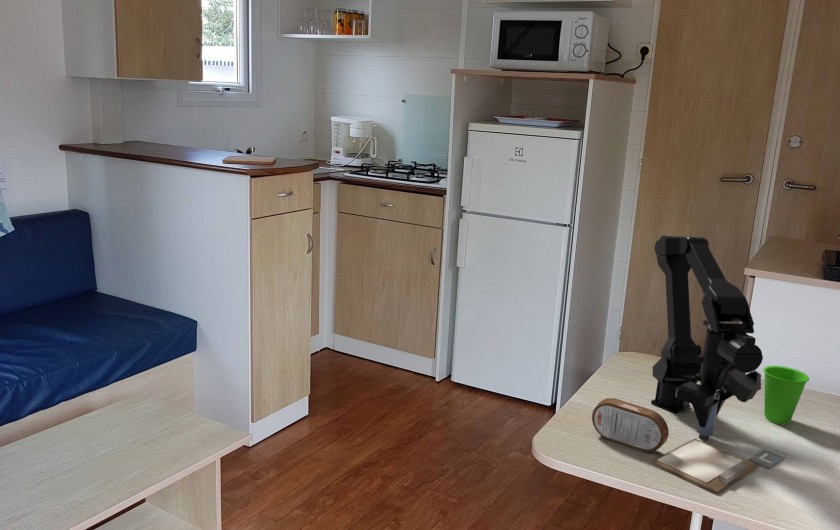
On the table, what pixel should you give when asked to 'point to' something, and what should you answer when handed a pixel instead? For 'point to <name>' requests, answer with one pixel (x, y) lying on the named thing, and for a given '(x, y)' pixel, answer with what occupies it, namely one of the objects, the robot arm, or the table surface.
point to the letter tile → (766, 458)
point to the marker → (709, 422)
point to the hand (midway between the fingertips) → (706, 424)
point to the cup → (782, 392)
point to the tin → (630, 424)
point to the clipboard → (705, 465)
